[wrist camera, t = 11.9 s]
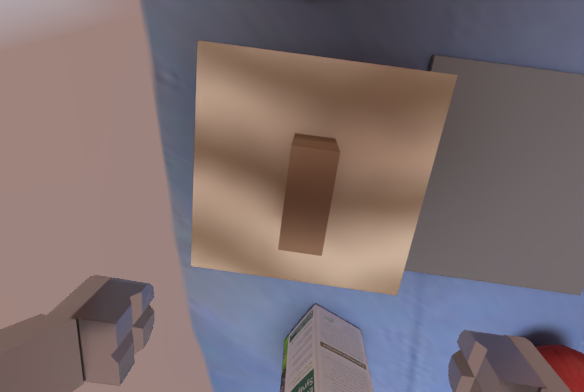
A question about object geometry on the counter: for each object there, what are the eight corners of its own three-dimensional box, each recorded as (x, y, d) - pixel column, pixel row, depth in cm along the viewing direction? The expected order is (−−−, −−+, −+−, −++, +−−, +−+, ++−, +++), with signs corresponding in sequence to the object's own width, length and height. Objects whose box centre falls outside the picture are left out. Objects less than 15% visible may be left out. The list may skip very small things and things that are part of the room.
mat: (432, 55, 25) (435, 55, 25) (674, 87, 25) (682, 87, 24) (381, 263, 31) (382, 267, 31) (575, 291, 31) (580, 295, 30)
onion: (559, 372, 34) (629, 456, 27) (500, 370, 35) (553, 452, 27) (574, 325, 32) (653, 401, 25) (511, 324, 33) (571, 398, 25)
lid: (202, 42, 20) (169, 31, 16) (451, 75, 20) (493, 74, 15) (195, 258, 25) (168, 300, 21) (393, 287, 25) (412, 335, 20)
